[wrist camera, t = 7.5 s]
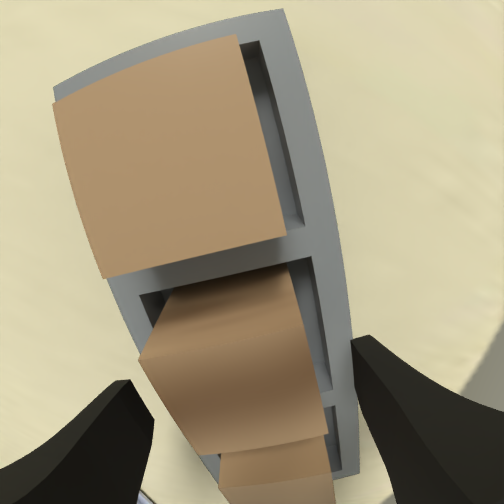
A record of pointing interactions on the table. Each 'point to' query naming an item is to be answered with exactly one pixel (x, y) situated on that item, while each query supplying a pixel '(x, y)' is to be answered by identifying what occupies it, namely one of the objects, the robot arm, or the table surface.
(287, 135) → the pocket tray
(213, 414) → the walnut block
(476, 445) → the robot arm
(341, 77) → the table surface
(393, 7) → the table surface
